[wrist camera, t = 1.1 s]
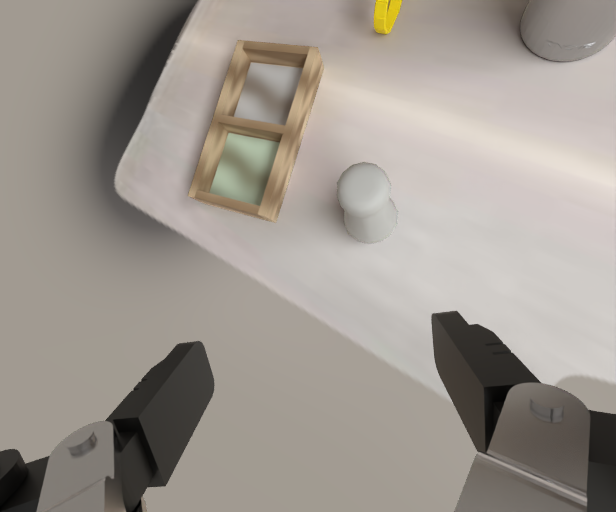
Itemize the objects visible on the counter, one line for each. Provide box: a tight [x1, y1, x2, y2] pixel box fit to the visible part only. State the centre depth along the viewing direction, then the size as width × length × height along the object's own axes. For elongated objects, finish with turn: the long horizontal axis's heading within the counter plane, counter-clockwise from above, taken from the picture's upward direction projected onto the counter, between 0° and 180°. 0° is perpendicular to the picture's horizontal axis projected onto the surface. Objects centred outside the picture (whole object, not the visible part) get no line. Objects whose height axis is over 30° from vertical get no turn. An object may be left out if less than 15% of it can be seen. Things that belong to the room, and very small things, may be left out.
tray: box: [188, 40, 324, 223], centre depth 40 cm, size 21×11×4 cm, turn 162°
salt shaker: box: [337, 162, 398, 244], centre depth 30 cm, size 6×6×13 cm
